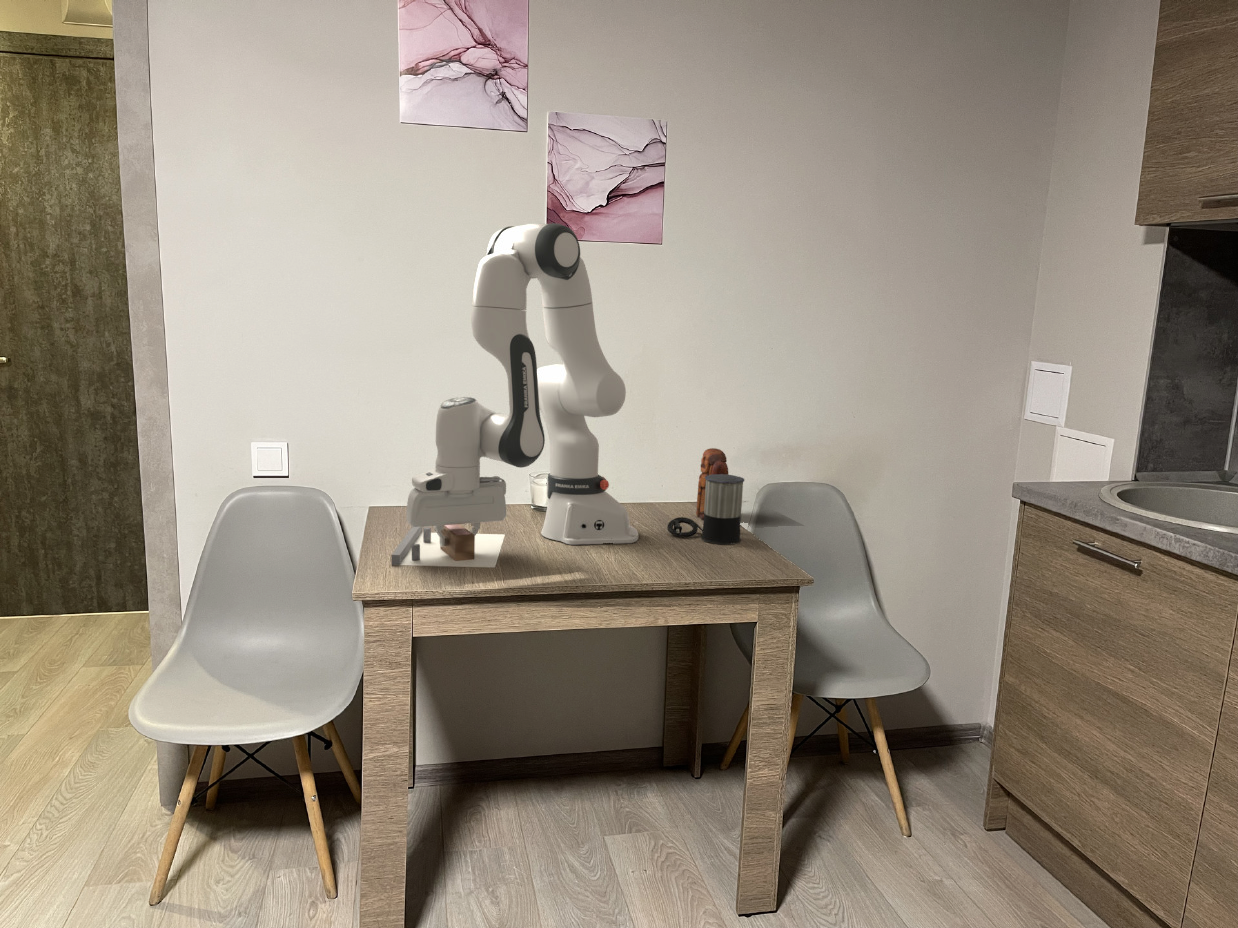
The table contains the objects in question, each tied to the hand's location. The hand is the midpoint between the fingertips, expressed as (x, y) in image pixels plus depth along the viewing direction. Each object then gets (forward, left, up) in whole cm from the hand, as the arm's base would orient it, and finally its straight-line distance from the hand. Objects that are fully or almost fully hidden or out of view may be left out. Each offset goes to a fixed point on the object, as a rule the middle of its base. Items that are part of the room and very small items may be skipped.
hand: (457, 544), depth 184 cm
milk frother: (-54, -23, -3) cm, 59 cm away
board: (+2, -4, -3) cm, 5 cm away
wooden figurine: (-59, -44, -3) cm, 74 cm away
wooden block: (0, 0, -2) cm, 2 cm away
